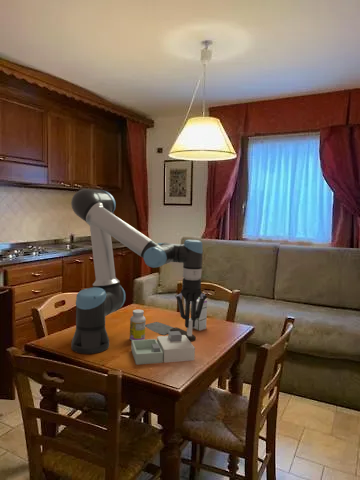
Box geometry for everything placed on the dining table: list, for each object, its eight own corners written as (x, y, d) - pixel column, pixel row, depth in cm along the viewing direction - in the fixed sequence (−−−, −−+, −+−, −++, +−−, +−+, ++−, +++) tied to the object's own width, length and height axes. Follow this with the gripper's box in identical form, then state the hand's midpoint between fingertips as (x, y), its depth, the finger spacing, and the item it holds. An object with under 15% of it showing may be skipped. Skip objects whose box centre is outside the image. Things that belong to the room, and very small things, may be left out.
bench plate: (163, 362, 140) (164, 349, 140) (156, 348, 154) (157, 336, 153) (194, 360, 143) (194, 347, 143) (184, 346, 157) (185, 334, 156)
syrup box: (206, 328, 180) (208, 299, 179) (198, 331, 176) (200, 301, 174) (197, 325, 184) (199, 296, 183) (189, 328, 180) (190, 298, 178)
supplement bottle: (128, 337, 165) (129, 308, 163) (143, 336, 166) (144, 308, 165) (130, 342, 158) (131, 313, 157) (145, 342, 160) (147, 313, 159)
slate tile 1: (159, 359, 141) (153, 359, 141) (157, 354, 146) (151, 355, 145) (160, 348, 141) (153, 348, 140) (157, 343, 145) (151, 343, 145)
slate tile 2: (170, 341, 148) (170, 335, 148) (168, 337, 153) (168, 331, 152) (181, 340, 149) (181, 334, 149) (178, 336, 154) (178, 330, 153)
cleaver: (199, 339, 166) (199, 334, 166) (184, 344, 159) (184, 339, 159) (155, 323, 187) (155, 319, 187) (140, 327, 180) (140, 323, 180)
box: (136, 364, 137) (136, 354, 137) (131, 349, 151) (131, 340, 151) (162, 362, 140) (162, 352, 140) (155, 348, 153) (155, 338, 153)
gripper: (178, 280, 145) (176, 339, 147) (210, 280, 148) (207, 337, 151) (174, 276, 152) (171, 332, 154) (204, 276, 155) (201, 330, 158)
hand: (189, 334), depth 152 cm, fingers closed
